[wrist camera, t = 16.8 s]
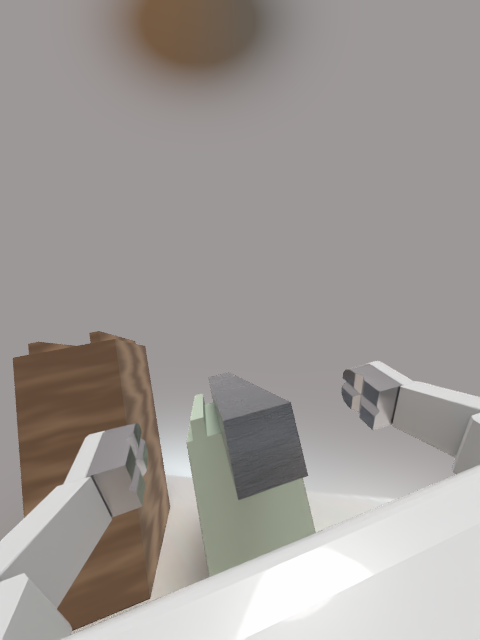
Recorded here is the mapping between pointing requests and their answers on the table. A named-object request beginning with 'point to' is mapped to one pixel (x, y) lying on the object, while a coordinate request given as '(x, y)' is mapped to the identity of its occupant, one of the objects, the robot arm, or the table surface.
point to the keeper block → (238, 501)
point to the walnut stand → (64, 444)
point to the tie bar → (256, 435)
